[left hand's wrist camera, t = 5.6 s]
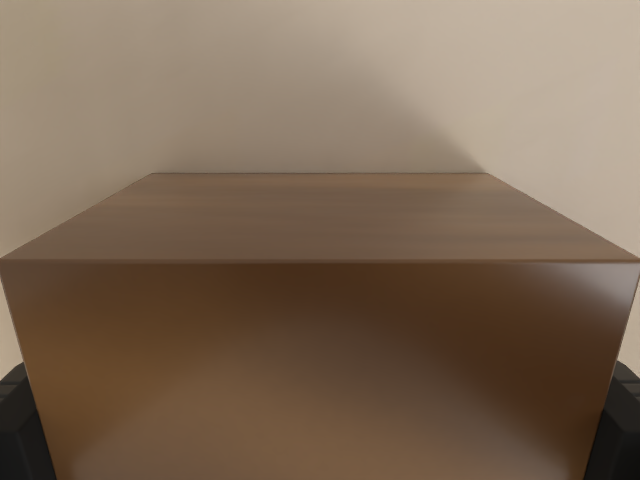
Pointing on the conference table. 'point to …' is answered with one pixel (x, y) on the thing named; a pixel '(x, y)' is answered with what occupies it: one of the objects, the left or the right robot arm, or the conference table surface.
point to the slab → (320, 330)
